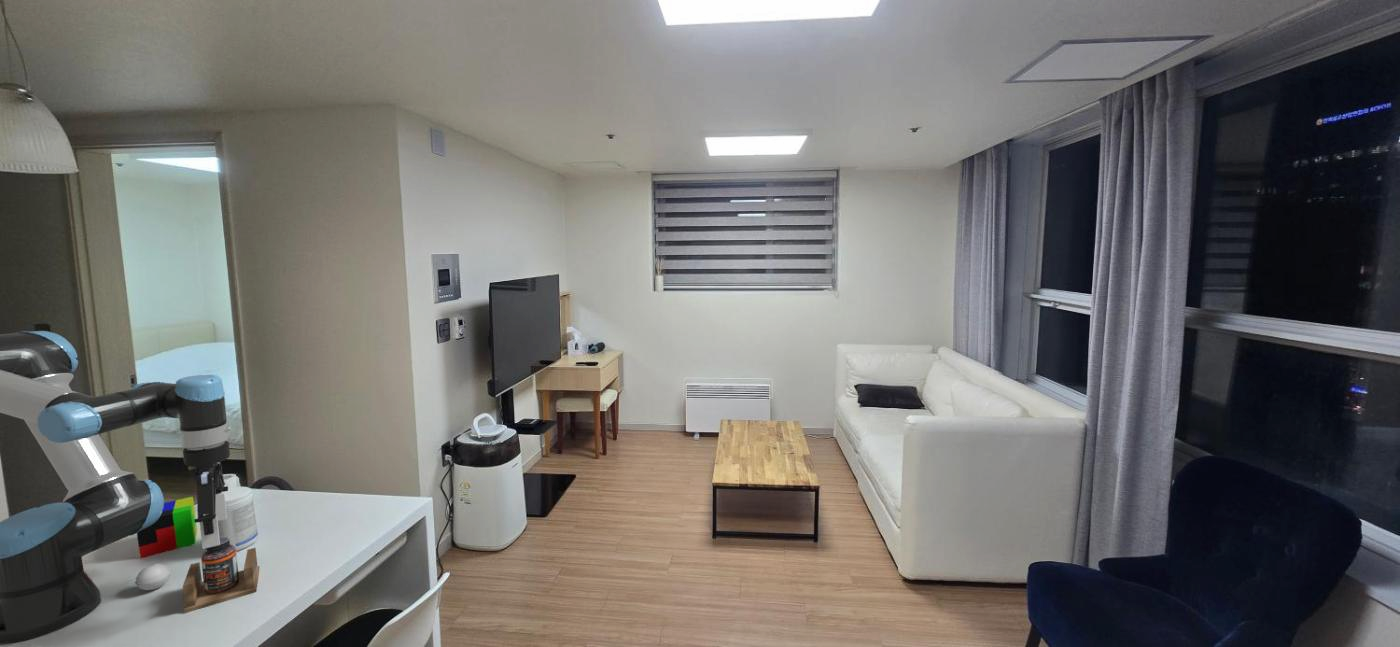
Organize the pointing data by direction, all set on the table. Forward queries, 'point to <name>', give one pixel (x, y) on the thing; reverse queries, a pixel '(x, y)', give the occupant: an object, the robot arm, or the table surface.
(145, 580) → the white oval egg shape
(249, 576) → the holder cradle
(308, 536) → the table surface
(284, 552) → the table surface
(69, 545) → the robot arm
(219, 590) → the supplement bottle
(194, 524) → the puzzle toy
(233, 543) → the supplement tub
